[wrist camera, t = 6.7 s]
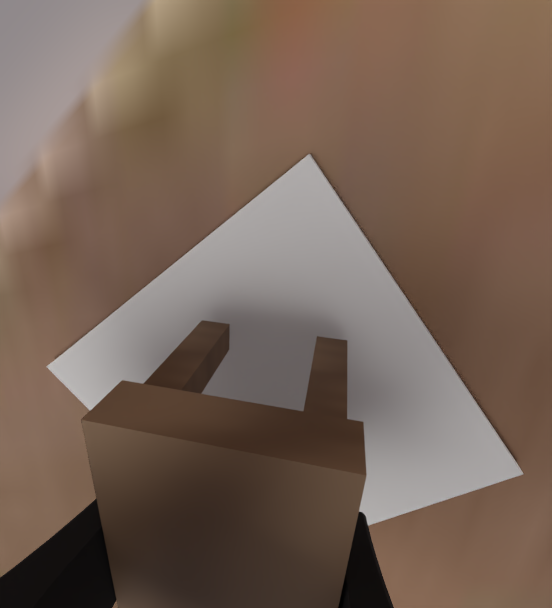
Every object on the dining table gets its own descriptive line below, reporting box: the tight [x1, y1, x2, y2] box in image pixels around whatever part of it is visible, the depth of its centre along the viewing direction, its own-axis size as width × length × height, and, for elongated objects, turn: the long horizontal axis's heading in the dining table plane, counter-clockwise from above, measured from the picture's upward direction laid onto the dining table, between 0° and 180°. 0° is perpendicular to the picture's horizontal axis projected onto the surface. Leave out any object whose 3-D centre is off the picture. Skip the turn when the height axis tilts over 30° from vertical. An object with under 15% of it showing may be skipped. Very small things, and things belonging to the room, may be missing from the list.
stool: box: [81, 320, 367, 608], centre depth 11 cm, size 6×9×6 cm, turn 177°
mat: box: [47, 154, 523, 525], centre depth 14 cm, size 14×14×1 cm
